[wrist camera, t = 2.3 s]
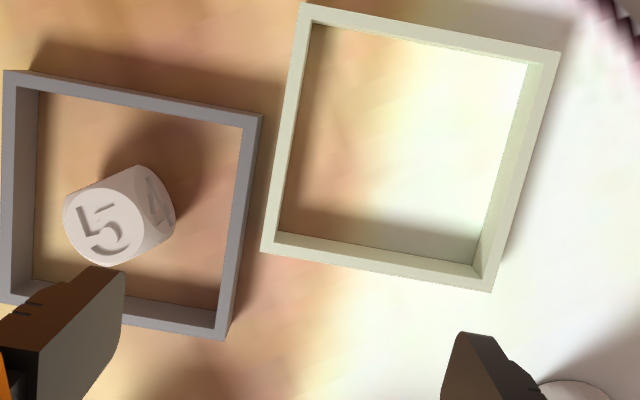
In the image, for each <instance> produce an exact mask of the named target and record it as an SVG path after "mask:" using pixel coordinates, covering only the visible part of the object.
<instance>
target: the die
mask: <svg viewBox="0 0 640 400" xmlns="http://www.w3.org/2000/svg"><path fill="white" fill-rule="evenodd" d="M62 219H63V224H64V228H65V231H66V233H67V236H68V238H69V240H70V241H71V243H72V245H73V246H74V247H75V249H76V250H77V251H78V252H79V253H80V254H81V255H82V256H83V257H85V258H86V259H88V260H89V261H91V262H93V263H96V264H98V265H101V266H105V267H110V266H114V265H117V264H120V263H123V262H126V261H128V260H130V259H133V258H135V257H137V256H139V255H141V254H143V253H145V252H147V251H149V250H151V249H152V248H154V247H156V246H157V245H159V244H161V243H162V242H164V241H165V240H167V239H168V238H169V237H170V236H171V235H172V234H173V232H174V229H175V225H176V218H175V211H174V207H173V204H172V201H171V199H170V196H169V194H168V192H167V190H166V188H165V187H164V185H163V183H162V182H161V180H160V179H159V178H158V177H157V176H156V174H155V173H154V172H152V171H151V170H150V169H148V168H146V167H144V166H141V165H139V164H138V165H135V166H133V167H130V168H128V169H125V170H123V171H121V172H118V173H116V174H114V175H111V176H109V177H107V178H105V179H102V180H100V181H98V182H96V183H93V184H91V185H89V186H87V187H84V188H82V189H80V190H78V191H76V192H73V193H71V194H69V195H67V196H66V197H65V200H64V204H63V209H62Z"/></svg>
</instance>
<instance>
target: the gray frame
mask: <svg viewBox="0 0 640 400" xmlns="http://www.w3.org/2000/svg"><path fill="white" fill-rule="evenodd" d="M39 90H41V91H47V92H52V93H58V94H63V95H68V96H74V97H79V98H84V99H90V100H95V101H101V102H106V103H111V104H117V105H122V106H128V107H133V108H138V109H144V110H149V111H154V112H160V113H165V114H171V115H176V116H181V117H187V118H192V119H198V120H203V121H208V122H214V123H219V124H224V125H230V126H235V127H241V128H243V133H242V140H241V147H240V154H239V161H238V168H237V175H236V182H235V189H234V196H233V203H232V210H231V217H230V223H229V230H228V237H227V244H226V251H225V258H224V265H223V272H222V279H221V286H220V293H219V300H218V307H217V312H216V311H211V310H205V309H199V308H194V307H188V306H182V305H177V304H171V303H165V302H159V301H154V300H148V299H142V298H137V297H131V296H125V295H124V305H123V314H122V324H125V325H130V326H136V327H142V328H148V329H153V330H159V331H165V332H171V333H176V334H182V335H188V336H194V337H199V338H205V339H211V340H217V341H222V342H224V341H225V339H226V336H227V334H228V331H229V328H230V326H231V322H232V316H233V309H234V303H235V296H236V290H237V283H238V277H239V270H240V263H241V257H242V250H243V244H244V237H245V231H246V224H247V218H248V211H249V205H250V198H251V191H252V185H253V178H254V172H255V165H256V159H257V152H258V146H259V139H260V133H261V126H262V119H263V114H260V113H254V112H249V111H244V110H238V109H233V108H228V107H222V106H217V105H212V104H206V103H201V102H196V101H190V100H185V99H179V98H174V97H169V96H163V95H158V94H153V93H147V92H142V91H137V90H131V89H126V88H120V87H115V86H110V85H104V84H99V83H94V82H88V81H83V80H78V79H72V78H67V77H62V76H56V75H51V74H45V73H40V72H35V71H29V70H3V103H2V150H1V197H0V303H4V304H10V305H16V306H20V305H21V304H24V303H25V301H26V300H27V299H29V298H30V297H31V296H32V295H34V294H35V293H36V292H38V291H39V290H41V289H43V288H46V287H49V286H52V285H54V284H57V283H51V282H46V281H40V280H34V279H32V260H33V235H34V209H35V184H36V159H37V133H38V108H39Z"/></svg>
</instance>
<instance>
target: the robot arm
mask: <svg viewBox="0 0 640 400" xmlns="http://www.w3.org/2000/svg"><path fill="white" fill-rule="evenodd" d="M125 285H126V275H125V272H124V271H120V270H114V269H108V268H103V267H97V266H89V267H88V268H87V269H85V270H84V271H83V272H82V273H81V274H79V275H78V276H77V277H76V278H75V279H73V280H72V281H71V282H70V283H65V282H60V283H57V284H54V285H52V286H49V287H46V288H43V289H41V290H39V291H38V292H36V293H35V294H34V295H32V296H31V297H30V298H29V299H27V300H26V301H25V303H24V304H21V305H20V306H18V307H17V308H16V309H14V310H13V312H12V314H11V313H9V314H8V315H7V316H5V317H4V318H3V319H1V320H0V400H82V399H83V397H84V396H85V395H86V393H87V392H88V391H89V389H90V388H91V386H92V385H93V384H94V382H95V381H96V380H97V378H98V377H99V375H100V374H101V373H102V371H103V370H104V369H105V367H106V366H107V364H108V363H109V362H110V360H111V359H112V357H113V355H114V353H115V351H116V348H117V345H118V342H119V338H120V333H121V324H122V314H123V305H124V295H125ZM440 400H611V399H610V398H609V397H608V396H607V395H606V394H605V393H603V392H602V391H600V390H599V389H598V388H596V387H594V386H591V385H589V384H586V383H583V382H577V381H554V382H549V383H545V384H542V385H540V386H538V385H537V384H536V382H535V381H534V380H533V378H532V377H531V375H530V374H528V373H527V372H526V371H525V370H523V369H522V368H521V367H520V366H519V365H517V364H516V363H515V362H514V361H511V360H508V358H507V357H506V355H505V354H504V352H503V351H502V349H501V348H500V346H499V345H498V343H497V341H496V340H495V339H494V338H493V337H492V336H486V335H480V334H475V333H469V332H463V331H461V332H460V333H459V334H458V335H457V337H456V339H455V342H454V346H453V349H452V353H451V356H450V360H449V363H448V367H447V370H446V374H445V377H444V380H443V384H442V388H441V393H440Z"/></svg>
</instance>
